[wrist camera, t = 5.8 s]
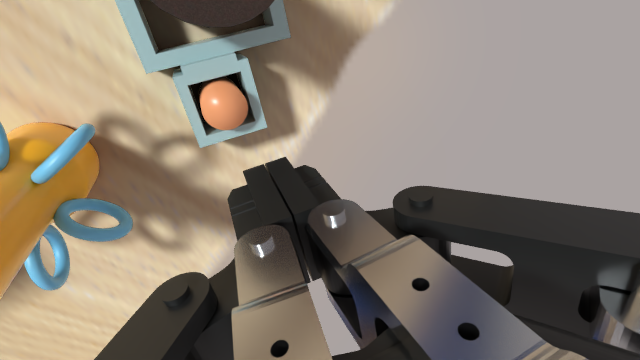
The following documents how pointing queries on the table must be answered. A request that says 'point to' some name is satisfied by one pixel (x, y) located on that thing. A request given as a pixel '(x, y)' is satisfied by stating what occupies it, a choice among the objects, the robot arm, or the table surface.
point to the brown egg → (222, 103)
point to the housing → (208, 64)
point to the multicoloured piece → (48, 199)
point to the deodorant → (214, 11)
